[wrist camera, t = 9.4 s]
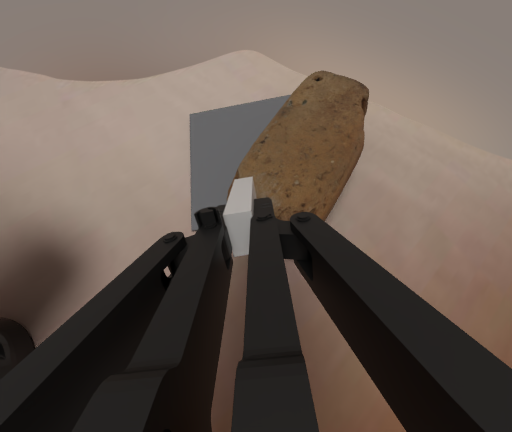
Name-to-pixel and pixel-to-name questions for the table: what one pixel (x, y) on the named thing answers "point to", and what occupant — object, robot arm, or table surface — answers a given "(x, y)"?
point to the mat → (223, 148)
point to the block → (309, 146)
